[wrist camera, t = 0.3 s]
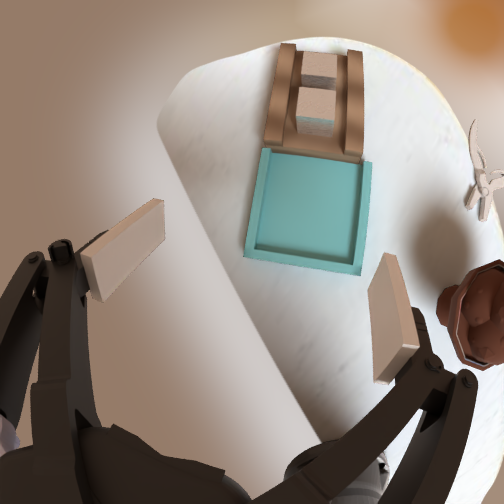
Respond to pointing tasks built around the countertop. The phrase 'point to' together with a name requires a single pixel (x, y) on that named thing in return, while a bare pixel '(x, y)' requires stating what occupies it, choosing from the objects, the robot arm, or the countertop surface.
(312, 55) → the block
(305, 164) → the tray
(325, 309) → the countertop surface
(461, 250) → the countertop surface
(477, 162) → the pliers
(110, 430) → the robot arm
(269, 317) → the countertop surface
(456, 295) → the ice cream bowl
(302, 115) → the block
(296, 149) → the groove board
